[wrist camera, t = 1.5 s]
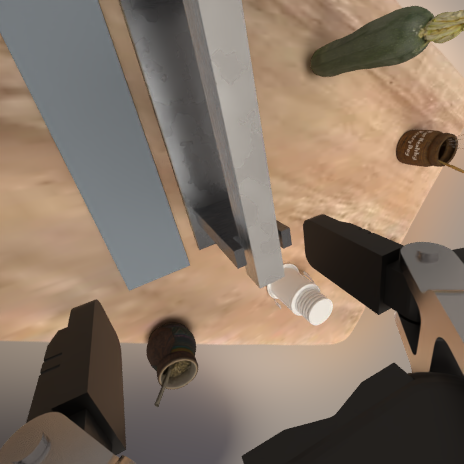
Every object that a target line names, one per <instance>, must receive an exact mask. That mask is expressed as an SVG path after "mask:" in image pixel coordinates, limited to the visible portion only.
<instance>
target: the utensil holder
mask: <svg viewBox="0 0 464 464" xmlns="http://www.w3.org/2000/svg"><path fill="white" fill-rule="evenodd" d="M459 136H460V135H459ZM459 136H458V137H459ZM458 140H459V139H457V137H456V136H455V135H453V134H450V133H442V132H440V131H434V130H411V131H409V132H407V133H405V134H404V135H403V136H402V138H401V139H400V141H399V143H398V146H397V158H398V160H399V161H400V162H402V163H405V164H409V165H416V166H424V167H428V166H445V165H446V166H448V167H451V168H453V169H455V170H457V171H460V172H462V173H464V170H462V169H459V168H457V167H455V166H453V165H449V164H448V163H449V162H450V161H451V160H452V159H453V157H454V156H455V154H456V151H457V147H458ZM460 140H461V139H460Z"/></svg>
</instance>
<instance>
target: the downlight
mask: <svg viewBox="0 0 464 464" xmlns="http://www.w3.org/2000/svg"><path fill="white" fill-rule="evenodd" d="M283 267H284V274H285V277H283V278H281V279H279V280H277V281H275V282H273V283H271V284H268V285H267V291H268V293H269V295H270V296H271V297H273V298H275V299H279V300H280V301H282V302H283V303H284V304H285V305H286V306H287V307H288V308H289V309H290V310H291V311H292V312H293V313H294V314H296V315H299V316H301V315H302V316H303V317H304V318H305V319H307V320H308V321H309V322H310V323H311V324H312V325H319V324H321V323H323V322H324V321H325V320H326V319H327V318H328V317H329V316H330V314H331V312H332V308H333V304H332V301H331V300H330V299H328V298H327V297H325V296H324V295H323V294H321V293H320V289H319V287H318V286H317V285H316V284H315V283H314V281H313V280H312V279H311V277H310V276H309V274H308V273H306V272H304V271H303V273H304V275H306V276H307V277H309V278H310V280H311V281H312V282H311V281H310V280H308V279H307V278H306V277H304V276H303V275H301V274H300V273H299V270H298V268H297V267H296V266H295V265H293V264H283ZM275 299H274V301H275ZM275 303H276V305H277V306H278V307H279V308H281V306H280V305H279V304H278V303H277V302H276V301H275Z"/></svg>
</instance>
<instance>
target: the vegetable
mask: <svg viewBox="0 0 464 464" xmlns="http://www.w3.org/2000/svg"><path fill="white" fill-rule="evenodd" d="M462 31H464V10H460V11H457V12H445V13H441V14H439V15H437V16H436V17H434V16H433V14H431V12H429V11H428V10H427V9H425V8H422V7H419V6H411V7H405V8H402V9H399V10H395V11H393V12H391V13H389V14H387V15H385V16H382V17H380V18H378V19H376V20H373V21H371V22H370V23H368V24H366V25H364V26H363V27H361V28H360V29H358V30H357V31H355V32H353V33H352V34H350V35H348V36H345V37H343V38H341V39H338V40H335V41H333V42H331V43H329V44H327V45H325V46H323V47H321V48H320V49H318V50H317V51H316V52H315V53H314V55H313V57H312V59H311V69H312V70H313V72H314V73H315V74H316V75H319V76H322V77H331V76H336V75H339V74H342V73H345V72H350V71H355V70H360V69H371V68H377V67H383V66H392V65H396V64H400V63H403V62H405V61H408V60H410V59H412V58H413V57H415V56H417V55H418V54H420V53H421V52H422V51H423V50H424V49H425V48H426V47H427V45H428V44H429V42H430V41H433V42H435V43H443V42H446V41H449V40H451V39H453V38H455V37H456V36H457V35H459V34H460V32H462Z"/></svg>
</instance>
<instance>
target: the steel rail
mask: <svg viewBox="0 0 464 464" xmlns="http://www.w3.org/2000/svg"><path fill="white" fill-rule="evenodd" d="M183 4H184V9H185V13H186V17H187V21H188V25H189V30H190V34H191V38H192V42H193V47H194V51H195V55H196V59H197V64H198V68H199V72H200V76H201V81H202V85H203V89H204V93H205V98H206V102H207V106H208V110H209V115H210V119H211V123H212V127H213V132H214V136H215V140H216V144H217V149H218V153H219V157H220V161H221V166H222V170H223V174H224V178H225V183H226V187H227V191H228V195H229V199H230V204H231V208H232V212H233V216H234V221H235V225H236V229H237V233H238V238H239V242H240V245H241V246H242V247H243V249H244V253H245V257H246V262H247V265H245V267H246V272H247V275H248V276H249V277H250V278H251V279H252V280H253V281H254V282H255V283H256V285H257V286H258V287H259V288H262V287H264V286H266V285H268V284H271V283H273V282H275V281H277V280H279V279H281V278H283V277H285V274H284V267H283V261H282V255H281V248H280V242H279V235H278V229H277V223H276V216H275V210H274V204H273V197H272V191H271V185H270V178H269V172H268V166H267V159H266V153H265V147H264V140H263V134H262V128H261V121H260V115H259V108H258V102H257V96H256V89H255V83H254V77H253V70H252V64H251V58H250V51H249V45H248V39H247V32H246V26H245V20H244V13H243V7H242V0H183Z"/></svg>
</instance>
